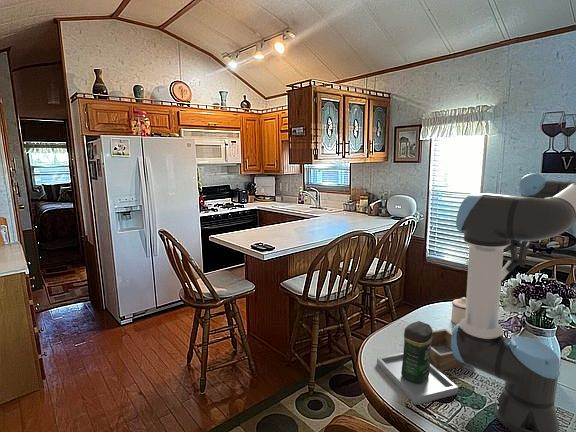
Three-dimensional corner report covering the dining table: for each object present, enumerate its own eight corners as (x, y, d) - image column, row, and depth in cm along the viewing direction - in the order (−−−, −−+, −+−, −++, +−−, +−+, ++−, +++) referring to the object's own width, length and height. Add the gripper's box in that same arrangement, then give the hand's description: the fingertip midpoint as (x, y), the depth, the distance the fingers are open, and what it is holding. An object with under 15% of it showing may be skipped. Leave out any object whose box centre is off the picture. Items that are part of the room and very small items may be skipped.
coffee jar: (420, 388, 113) (424, 335, 110) (397, 377, 119) (400, 326, 115) (433, 374, 120) (436, 324, 117) (411, 364, 126) (413, 316, 122)
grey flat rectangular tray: (457, 394, 112) (458, 387, 112) (414, 404, 107) (415, 397, 107) (414, 356, 133) (414, 350, 132) (376, 363, 128) (377, 357, 128)
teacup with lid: (472, 329, 152) (474, 303, 150) (449, 323, 157) (451, 299, 155) (474, 317, 162) (476, 294, 160) (452, 313, 167) (454, 290, 165)
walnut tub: (473, 363, 128) (474, 348, 127) (439, 371, 123) (440, 355, 122) (444, 342, 142) (445, 328, 141) (412, 348, 138) (413, 334, 136)
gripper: (559, 241, 117) (520, 289, 116) (496, 226, 140) (462, 266, 139) (549, 227, 115) (509, 276, 113) (486, 214, 138) (452, 254, 137)
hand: (483, 271), depth 126 cm, fingers open, 13 cm apart
